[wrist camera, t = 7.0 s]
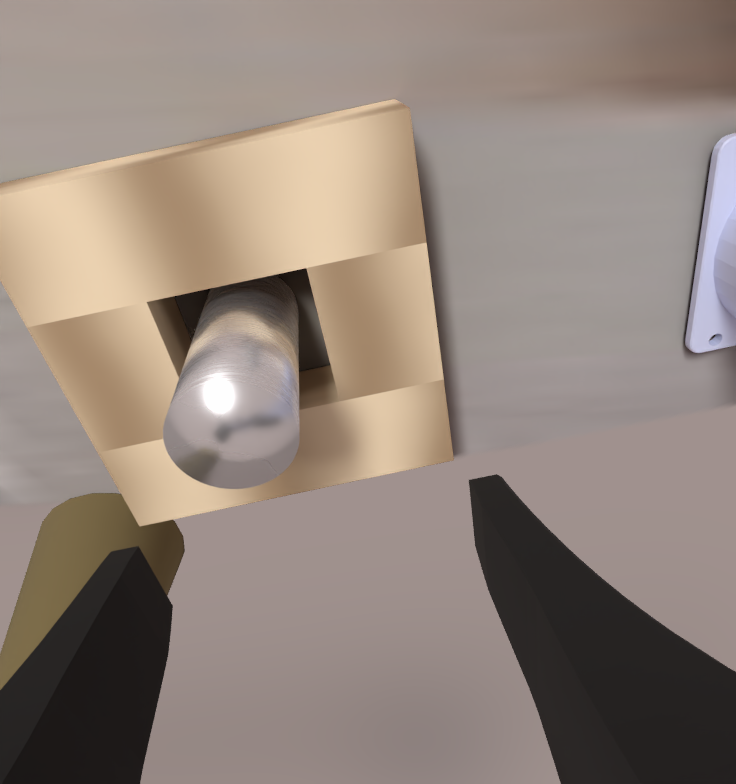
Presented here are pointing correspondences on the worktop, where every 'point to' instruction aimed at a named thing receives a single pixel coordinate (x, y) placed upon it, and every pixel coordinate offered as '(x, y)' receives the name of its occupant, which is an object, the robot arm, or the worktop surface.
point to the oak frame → (228, 266)
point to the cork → (80, 565)
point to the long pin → (239, 388)
